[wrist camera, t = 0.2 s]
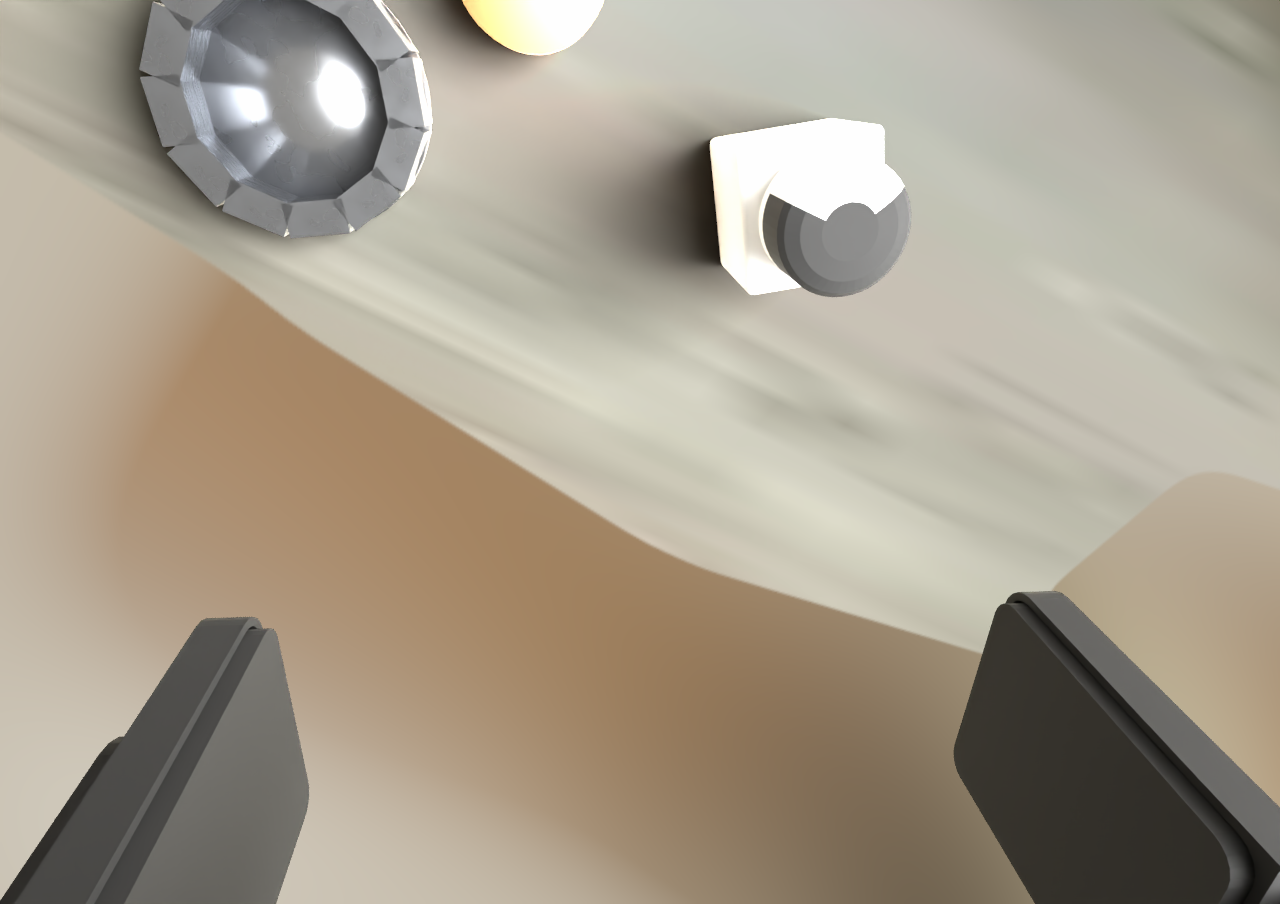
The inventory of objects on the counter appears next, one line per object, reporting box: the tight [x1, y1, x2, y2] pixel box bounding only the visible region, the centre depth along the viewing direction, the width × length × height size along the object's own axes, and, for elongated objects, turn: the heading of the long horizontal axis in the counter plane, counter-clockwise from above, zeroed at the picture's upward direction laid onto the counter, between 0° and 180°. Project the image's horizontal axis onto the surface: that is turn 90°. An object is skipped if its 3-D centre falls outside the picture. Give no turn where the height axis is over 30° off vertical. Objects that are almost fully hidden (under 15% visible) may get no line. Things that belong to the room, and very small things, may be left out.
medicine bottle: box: [710, 118, 911, 297], centre depth 38 cm, size 7×7×12 cm
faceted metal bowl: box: [139, 0, 433, 238], centre depth 37 cm, size 13×13×3 cm
